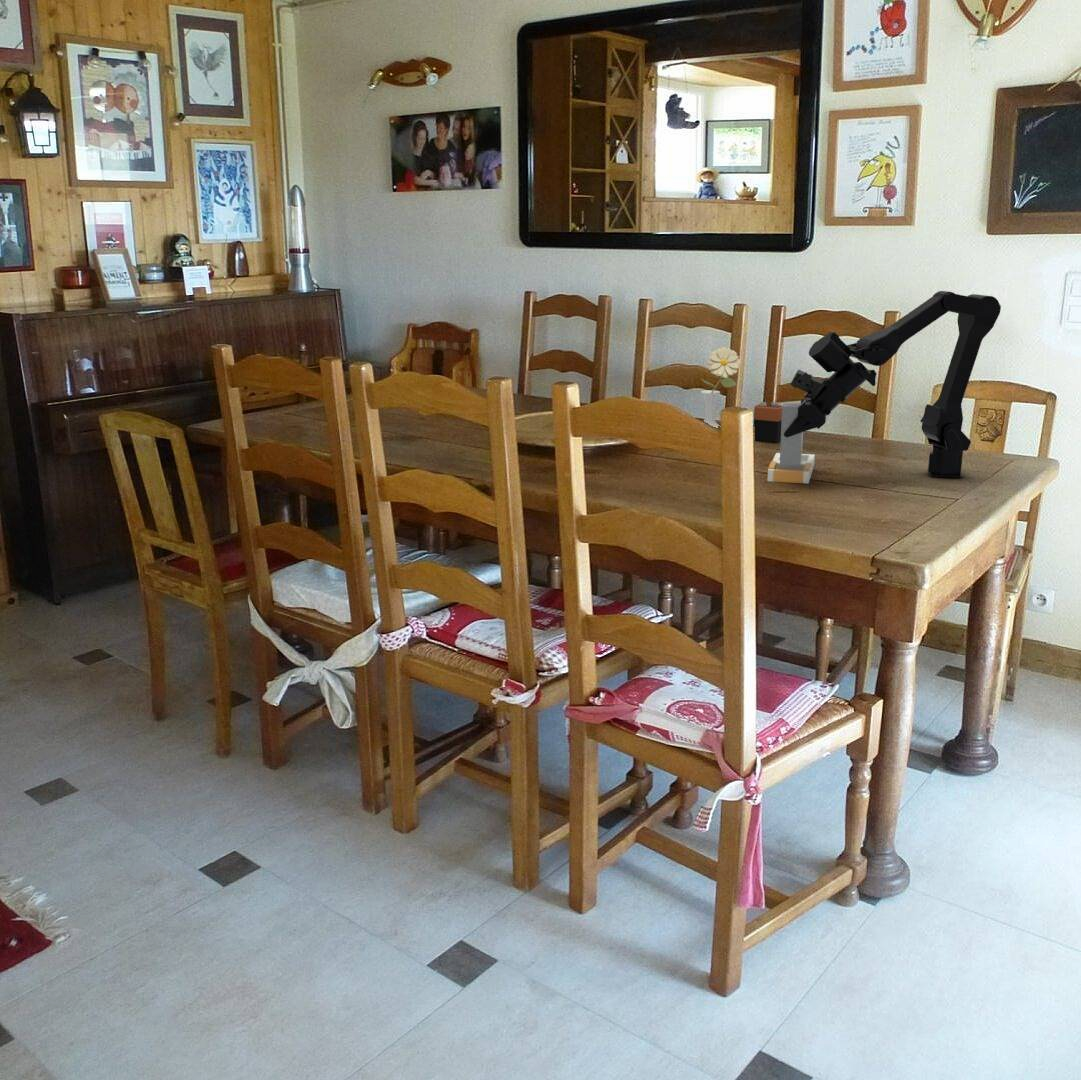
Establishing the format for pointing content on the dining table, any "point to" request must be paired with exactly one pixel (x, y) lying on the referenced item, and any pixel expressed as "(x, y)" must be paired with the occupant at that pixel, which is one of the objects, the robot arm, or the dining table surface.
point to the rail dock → (791, 470)
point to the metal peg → (790, 438)
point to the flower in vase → (723, 366)
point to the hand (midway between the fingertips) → (785, 433)
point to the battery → (768, 422)
